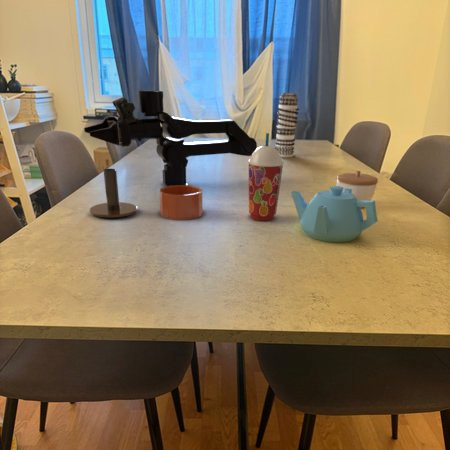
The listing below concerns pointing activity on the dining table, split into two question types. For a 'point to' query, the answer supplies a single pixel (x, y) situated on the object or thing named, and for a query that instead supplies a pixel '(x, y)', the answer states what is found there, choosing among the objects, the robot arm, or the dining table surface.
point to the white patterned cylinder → (286, 124)
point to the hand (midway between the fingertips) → (87, 131)
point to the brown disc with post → (112, 199)
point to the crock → (181, 202)
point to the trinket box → (358, 184)
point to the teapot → (334, 215)
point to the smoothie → (264, 182)
